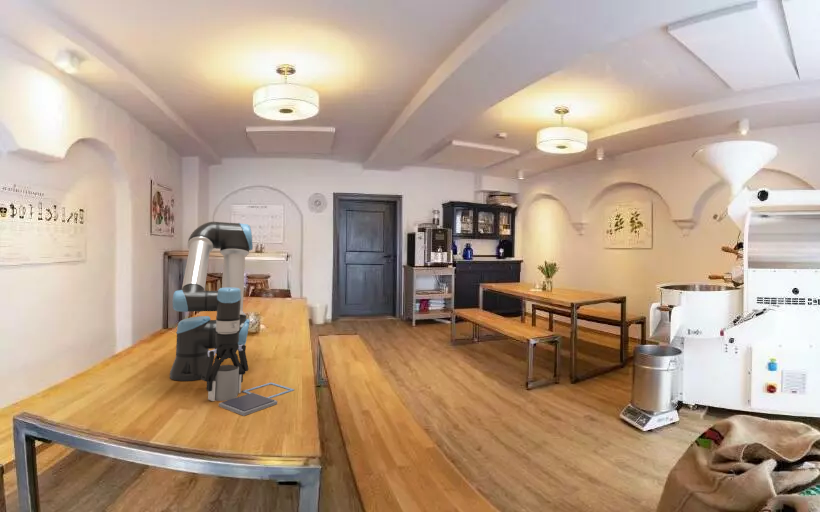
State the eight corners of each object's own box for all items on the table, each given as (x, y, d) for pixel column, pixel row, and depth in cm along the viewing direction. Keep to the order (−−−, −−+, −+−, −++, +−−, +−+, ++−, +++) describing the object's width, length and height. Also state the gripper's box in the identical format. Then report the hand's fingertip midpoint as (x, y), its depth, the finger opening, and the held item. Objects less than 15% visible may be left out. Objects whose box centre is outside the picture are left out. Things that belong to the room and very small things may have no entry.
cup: (227, 402, 137) (228, 372, 137) (206, 399, 139) (207, 370, 139) (242, 393, 145) (243, 366, 145) (222, 391, 147) (223, 363, 147)
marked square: (241, 391, 147) (241, 391, 147) (271, 383, 158) (271, 382, 158) (265, 399, 140) (265, 399, 140) (294, 390, 151) (294, 389, 151)
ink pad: (218, 406, 133) (218, 402, 133) (252, 395, 144) (252, 391, 144) (243, 415, 126) (243, 411, 126) (277, 403, 137) (277, 400, 137)
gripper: (203, 338, 131) (200, 407, 130) (260, 329, 149) (258, 390, 149) (190, 334, 134) (187, 402, 134) (247, 326, 153) (245, 386, 153)
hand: (224, 395), depth 142 cm, fingers open, 9 cm apart
